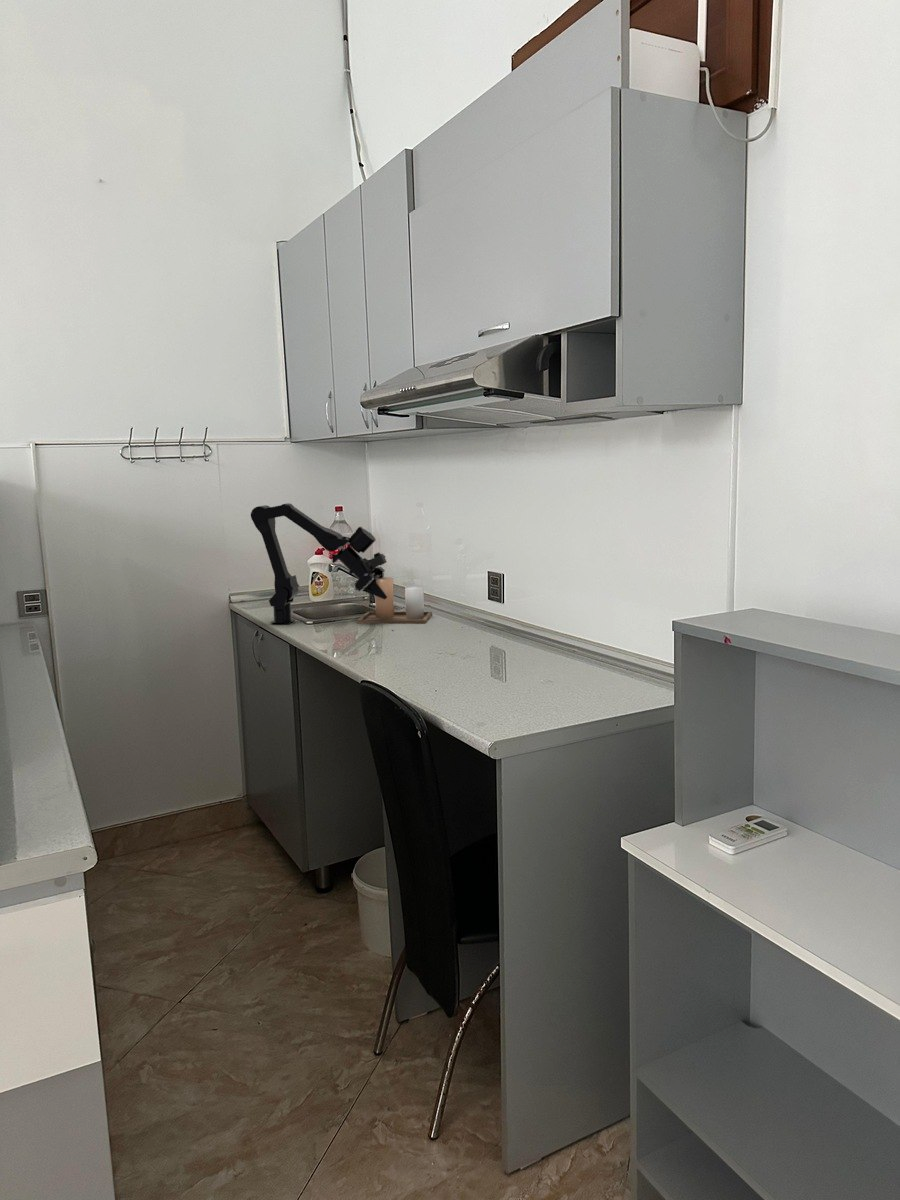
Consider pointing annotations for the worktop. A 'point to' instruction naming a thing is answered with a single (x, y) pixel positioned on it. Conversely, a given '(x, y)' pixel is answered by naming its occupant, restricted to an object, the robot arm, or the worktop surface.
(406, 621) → the walnut tray
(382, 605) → the peach tapered cylinder
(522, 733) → the worktop surface
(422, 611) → the white rounded cylinder
